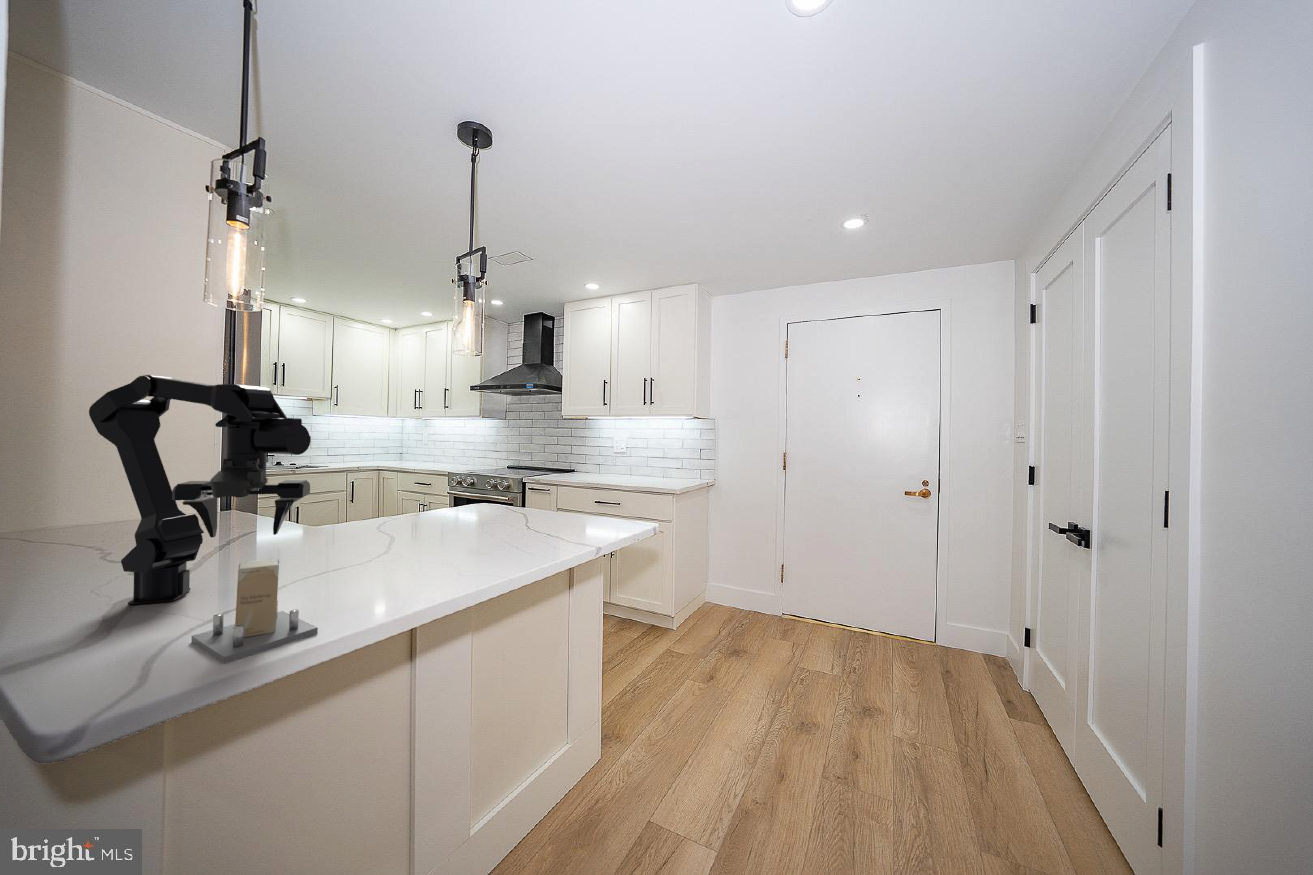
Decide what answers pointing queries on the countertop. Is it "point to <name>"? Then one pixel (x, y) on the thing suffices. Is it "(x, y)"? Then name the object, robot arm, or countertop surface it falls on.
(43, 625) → the countertop surface
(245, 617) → the box
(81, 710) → the countertop surface
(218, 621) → the pin tray
